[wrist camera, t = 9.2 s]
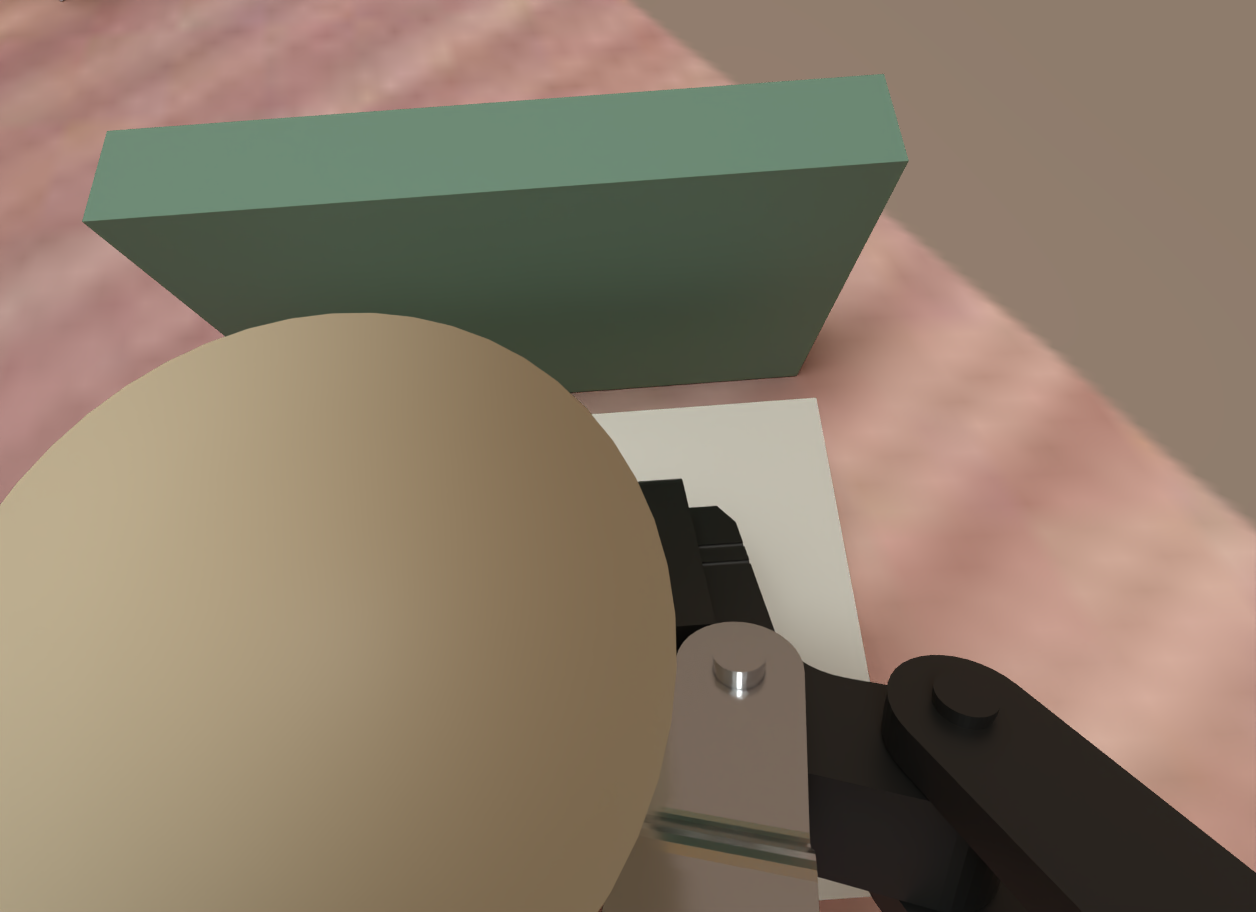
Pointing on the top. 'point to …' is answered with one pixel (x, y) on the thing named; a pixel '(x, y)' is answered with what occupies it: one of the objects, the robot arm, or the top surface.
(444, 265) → the wall
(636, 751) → the dowel
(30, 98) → the top surface
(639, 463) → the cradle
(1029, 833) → the robot arm
